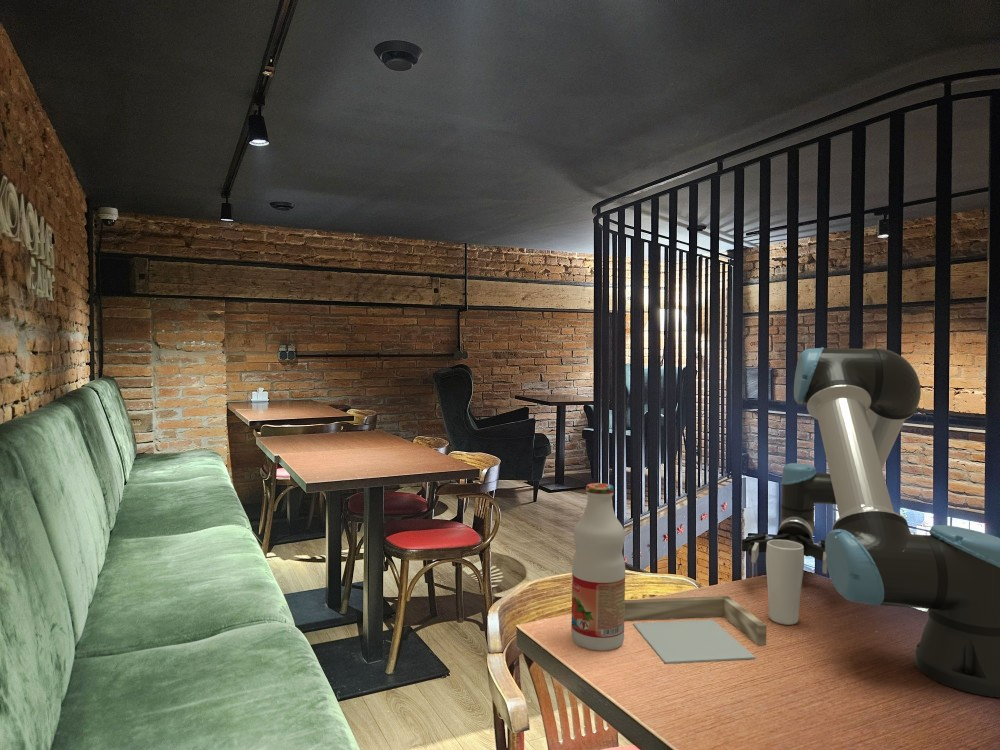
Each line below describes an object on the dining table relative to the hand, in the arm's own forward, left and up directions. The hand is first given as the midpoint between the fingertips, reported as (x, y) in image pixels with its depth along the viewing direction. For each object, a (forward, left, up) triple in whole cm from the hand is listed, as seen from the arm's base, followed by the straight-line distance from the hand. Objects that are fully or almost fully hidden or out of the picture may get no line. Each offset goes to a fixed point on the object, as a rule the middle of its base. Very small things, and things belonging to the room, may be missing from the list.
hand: (788, 561), depth 136 cm
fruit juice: (-13, +44, -9) cm, 47 cm away
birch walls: (-11, +27, -9) cm, 30 cm away
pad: (-15, +28, -9) cm, 33 cm away
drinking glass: (-8, +6, -9) cm, 13 cm away
